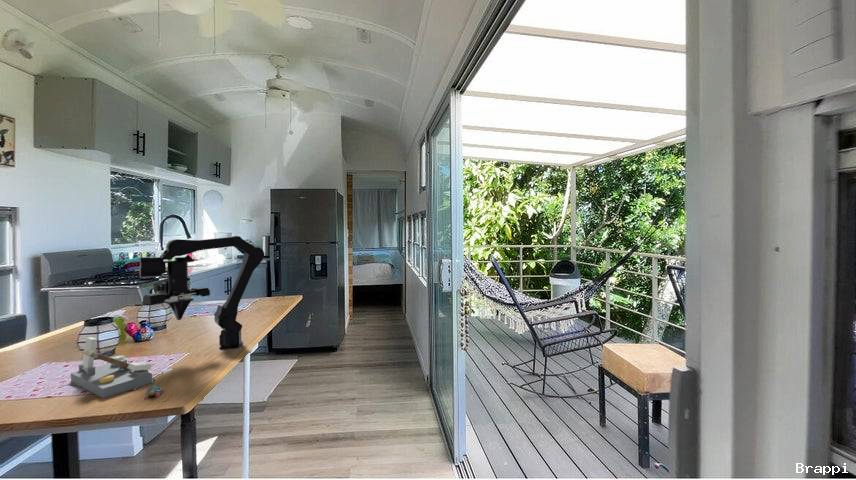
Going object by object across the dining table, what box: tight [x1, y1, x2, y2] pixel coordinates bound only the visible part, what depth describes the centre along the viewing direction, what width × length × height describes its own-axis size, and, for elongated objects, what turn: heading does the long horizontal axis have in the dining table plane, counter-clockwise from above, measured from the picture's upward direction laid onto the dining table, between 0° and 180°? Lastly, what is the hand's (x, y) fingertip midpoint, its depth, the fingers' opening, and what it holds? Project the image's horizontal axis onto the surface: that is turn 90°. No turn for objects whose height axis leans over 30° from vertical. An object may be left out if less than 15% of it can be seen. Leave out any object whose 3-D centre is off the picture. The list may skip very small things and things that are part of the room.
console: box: [70, 358, 153, 399], centre depth 102 cm, size 11×22×4 cm, turn 61°
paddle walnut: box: [83, 350, 129, 368], centre depth 101 cm, size 1×4×11 cm
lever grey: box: [81, 336, 98, 369], centre depth 103 cm, size 1×4×8 cm, turn 61°
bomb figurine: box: [144, 376, 163, 401], centre depth 93 cm, size 8×8×6 cm
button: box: [111, 355, 125, 366], centre depth 109 cm, size 3×3×2 cm
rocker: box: [128, 361, 152, 371], centre depth 102 cm, size 4×4×1 cm
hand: (179, 319), depth 122 cm, fingers closed
